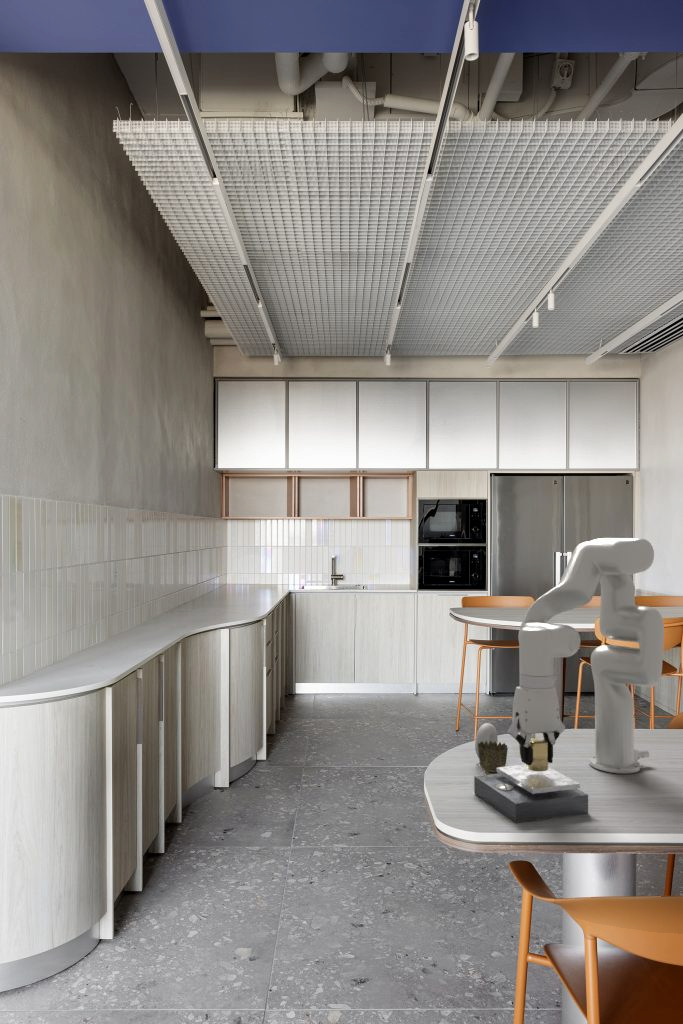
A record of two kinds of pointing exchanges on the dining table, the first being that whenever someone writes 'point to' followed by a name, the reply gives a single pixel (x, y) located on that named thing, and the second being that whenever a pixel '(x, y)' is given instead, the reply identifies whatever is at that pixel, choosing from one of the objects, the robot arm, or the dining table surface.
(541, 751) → the brass weight
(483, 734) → the grey rounded slab
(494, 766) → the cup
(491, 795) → the scale
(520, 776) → the scale pan
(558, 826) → the dining table surface
